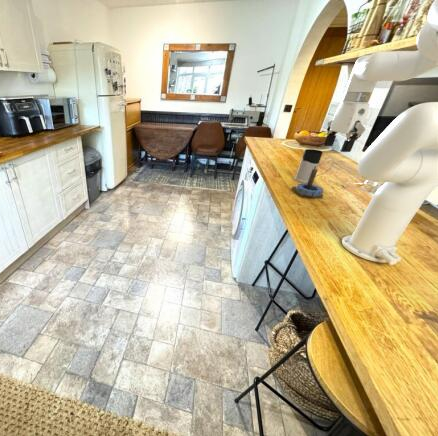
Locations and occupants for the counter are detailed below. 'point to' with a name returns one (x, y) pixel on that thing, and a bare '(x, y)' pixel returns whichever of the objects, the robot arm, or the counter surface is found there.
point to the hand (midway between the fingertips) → (336, 148)
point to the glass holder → (309, 164)
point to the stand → (308, 185)
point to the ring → (312, 192)
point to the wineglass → (367, 185)
